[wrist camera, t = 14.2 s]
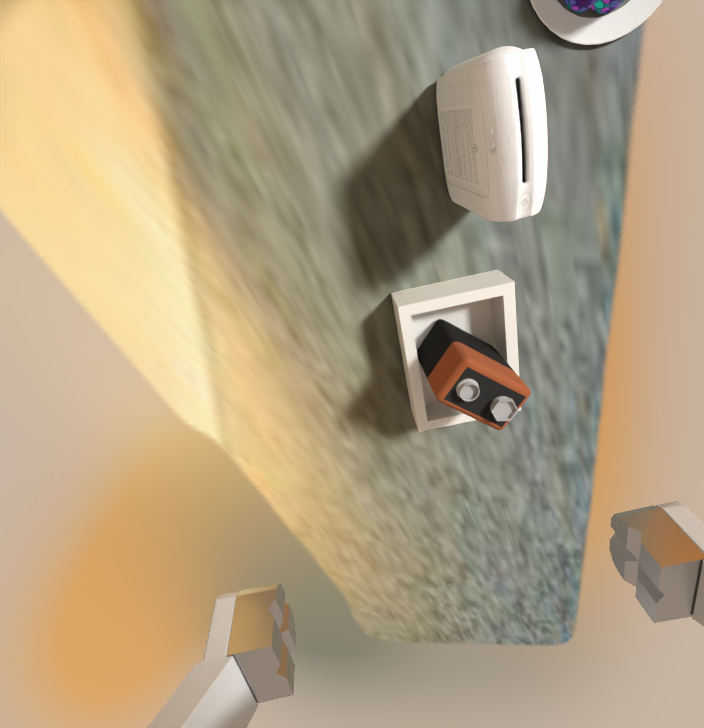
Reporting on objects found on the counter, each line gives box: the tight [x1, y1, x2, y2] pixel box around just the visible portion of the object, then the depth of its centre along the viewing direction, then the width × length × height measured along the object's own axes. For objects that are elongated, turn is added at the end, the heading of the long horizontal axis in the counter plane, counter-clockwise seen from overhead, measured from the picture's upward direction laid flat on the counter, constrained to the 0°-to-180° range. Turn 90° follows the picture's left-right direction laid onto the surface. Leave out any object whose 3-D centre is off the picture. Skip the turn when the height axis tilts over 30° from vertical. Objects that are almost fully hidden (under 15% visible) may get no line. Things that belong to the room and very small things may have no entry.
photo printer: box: [436, 46, 548, 222], centre depth 33 cm, size 10×4×12 cm, turn 13°
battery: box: [417, 319, 531, 430], centre depth 41 cm, size 4×7×10 cm, turn 61°
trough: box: [391, 269, 521, 432], centre depth 45 cm, size 13×10×4 cm
